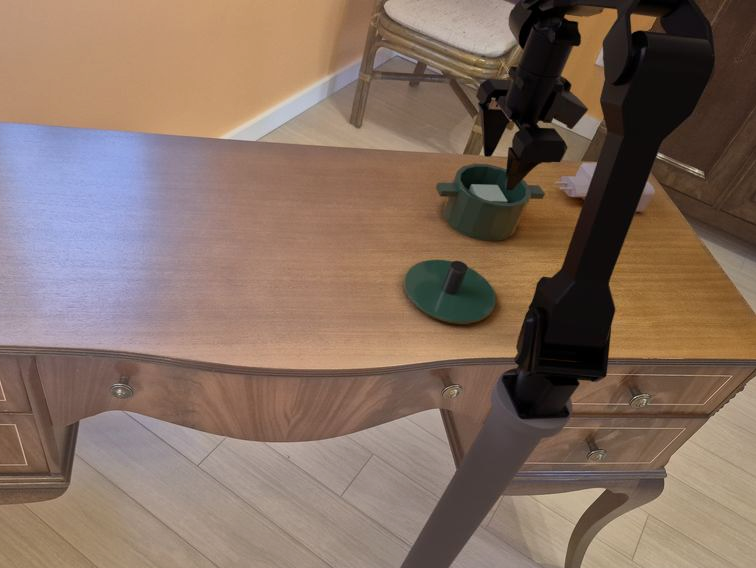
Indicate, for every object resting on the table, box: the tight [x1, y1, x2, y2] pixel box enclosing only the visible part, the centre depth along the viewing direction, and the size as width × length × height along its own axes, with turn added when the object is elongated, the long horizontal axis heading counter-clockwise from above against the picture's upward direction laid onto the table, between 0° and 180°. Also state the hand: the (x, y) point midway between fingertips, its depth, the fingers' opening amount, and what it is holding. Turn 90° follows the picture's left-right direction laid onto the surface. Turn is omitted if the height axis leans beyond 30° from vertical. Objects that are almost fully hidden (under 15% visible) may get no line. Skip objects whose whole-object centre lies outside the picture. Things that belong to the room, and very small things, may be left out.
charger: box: [554, 162, 656, 213], centre depth 105 cm, size 5×9×15 cm
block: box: [469, 184, 507, 203], centre depth 97 cm, size 4×4×4 cm
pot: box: [435, 163, 546, 242], centre depth 96 cm, size 12×17×6 cm
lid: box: [403, 259, 497, 325], centre depth 83 cm, size 13×13×5 cm
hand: (497, 172), depth 93 cm, fingers open, 9 cm apart
